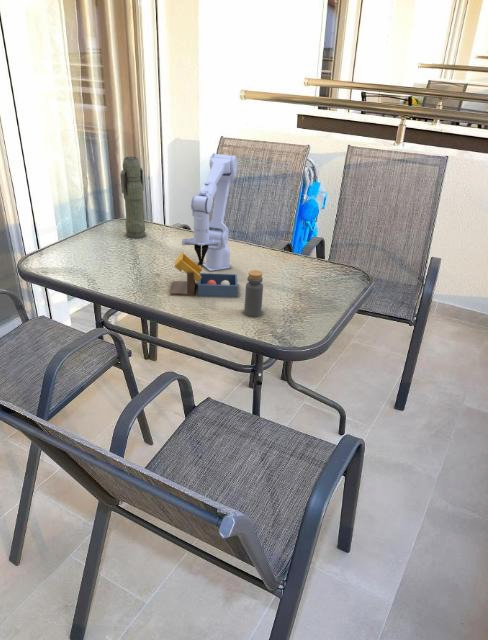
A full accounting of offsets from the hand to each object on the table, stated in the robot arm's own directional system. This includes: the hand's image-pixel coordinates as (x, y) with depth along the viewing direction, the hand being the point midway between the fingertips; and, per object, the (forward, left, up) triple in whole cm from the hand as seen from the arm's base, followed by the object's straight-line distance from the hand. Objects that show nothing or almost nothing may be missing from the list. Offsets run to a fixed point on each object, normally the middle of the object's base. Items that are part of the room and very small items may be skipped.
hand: (201, 263), depth 195 cm
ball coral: (0, +10, -5) cm, 11 cm away
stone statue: (+7, -61, -7) cm, 61 cm away
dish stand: (+10, +6, -7) cm, 13 cm away
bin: (-2, +11, -7) cm, 13 cm away
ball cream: (-4, +13, -5) cm, 14 cm away
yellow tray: (+7, +3, 0) cm, 8 cm away
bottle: (-5, +33, -7) cm, 34 cm away
